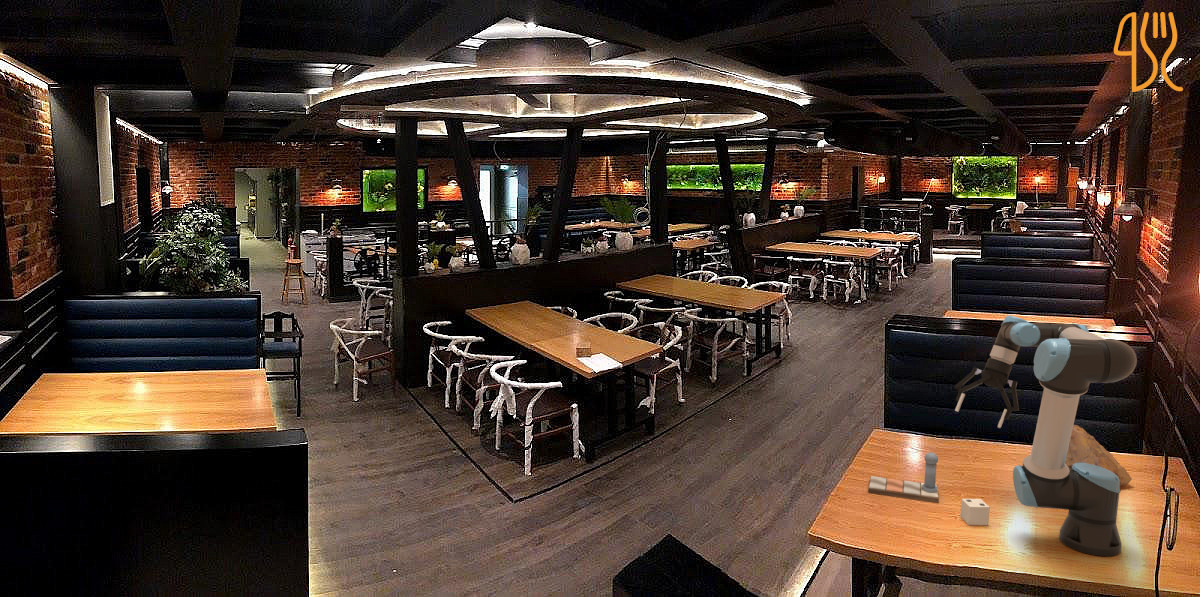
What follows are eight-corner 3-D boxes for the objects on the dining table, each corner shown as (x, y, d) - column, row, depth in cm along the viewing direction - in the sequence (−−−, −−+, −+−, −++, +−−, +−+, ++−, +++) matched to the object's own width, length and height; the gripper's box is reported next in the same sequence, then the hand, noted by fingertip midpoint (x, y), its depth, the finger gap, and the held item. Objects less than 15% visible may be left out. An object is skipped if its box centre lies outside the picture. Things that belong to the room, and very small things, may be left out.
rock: (1031, 443, 276) (1055, 412, 271) (1065, 455, 281) (1089, 424, 276) (1088, 495, 250) (1116, 462, 245) (1125, 507, 255) (1153, 474, 250)
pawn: (937, 493, 245) (939, 456, 243) (921, 491, 247) (924, 454, 245) (937, 488, 250) (939, 451, 248) (921, 486, 251) (923, 449, 249)
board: (938, 502, 242) (938, 498, 242) (868, 492, 251) (868, 488, 251) (937, 489, 253) (937, 484, 253) (870, 479, 262) (870, 475, 261)
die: (988, 525, 226) (989, 506, 225) (968, 525, 226) (969, 506, 225) (979, 516, 232) (980, 498, 231) (960, 516, 232) (961, 498, 231)
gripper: (1042, 375, 241) (1018, 434, 242) (963, 349, 256) (941, 405, 256) (1041, 373, 235) (1016, 434, 236) (960, 346, 249) (937, 404, 250)
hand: (977, 419), depth 246 cm, fingers open, 13 cm apart
